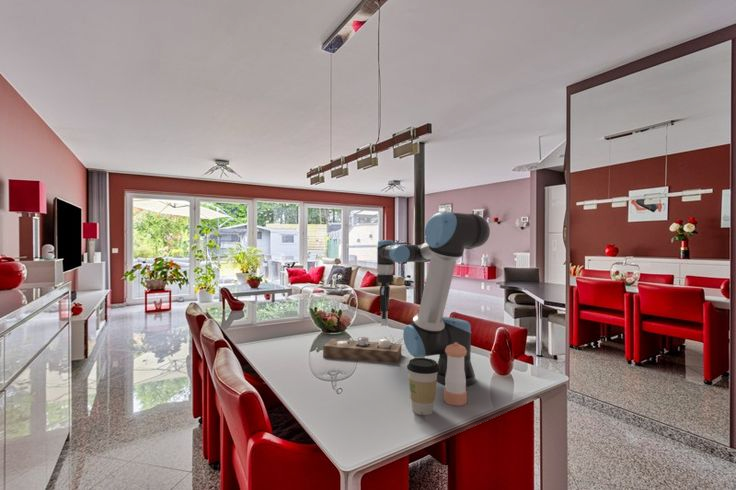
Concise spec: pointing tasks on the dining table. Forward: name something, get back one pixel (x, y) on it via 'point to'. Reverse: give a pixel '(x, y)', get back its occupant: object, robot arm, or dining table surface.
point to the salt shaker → (455, 375)
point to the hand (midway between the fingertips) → (384, 325)
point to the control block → (362, 351)
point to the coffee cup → (422, 384)
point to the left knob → (342, 343)
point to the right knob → (384, 343)
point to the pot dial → (363, 342)
